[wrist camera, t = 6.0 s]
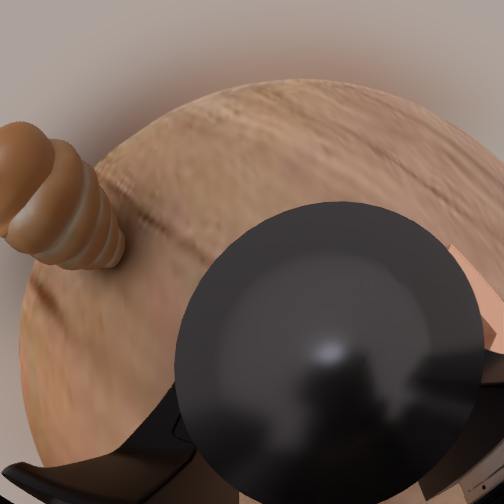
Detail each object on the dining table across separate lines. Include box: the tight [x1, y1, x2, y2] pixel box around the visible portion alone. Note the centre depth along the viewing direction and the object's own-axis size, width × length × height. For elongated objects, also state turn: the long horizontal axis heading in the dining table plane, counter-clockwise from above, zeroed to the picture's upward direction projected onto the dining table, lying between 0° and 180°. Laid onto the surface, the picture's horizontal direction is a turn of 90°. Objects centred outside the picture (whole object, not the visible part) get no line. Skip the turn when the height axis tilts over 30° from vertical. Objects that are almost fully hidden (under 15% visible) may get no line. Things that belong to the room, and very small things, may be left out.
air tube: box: [174, 202, 485, 504], centre depth 9 cm, size 4×4×13 cm
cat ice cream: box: [0, 122, 125, 270], centre depth 17 cm, size 9×8×18 cm
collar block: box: [446, 244, 504, 354], centre depth 18 cm, size 12×12×4 cm
